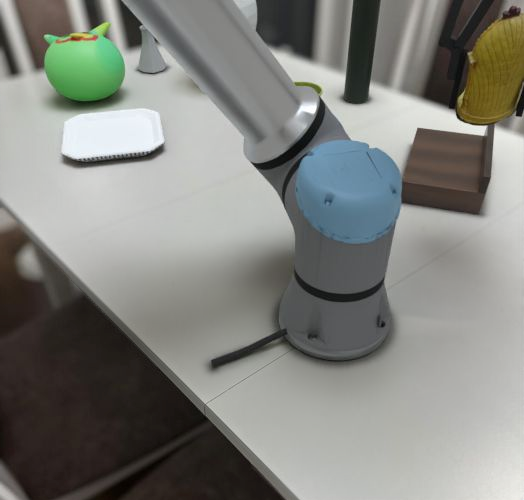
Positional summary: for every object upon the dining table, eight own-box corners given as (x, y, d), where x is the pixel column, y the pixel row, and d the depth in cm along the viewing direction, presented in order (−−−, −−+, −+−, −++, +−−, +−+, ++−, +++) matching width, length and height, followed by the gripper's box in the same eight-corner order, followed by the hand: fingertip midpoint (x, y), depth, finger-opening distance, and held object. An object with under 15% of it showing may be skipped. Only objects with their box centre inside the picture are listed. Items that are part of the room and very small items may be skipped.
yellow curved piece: (513, 145, 67) (558, 10, 56) (448, 138, 69) (478, 6, 58) (513, 108, 75) (552, -18, 64) (454, 103, 77) (481, -21, 66)
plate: (62, 170, 104) (59, 159, 103) (67, 125, 118) (64, 115, 116) (167, 158, 107) (165, 147, 105) (159, 115, 121) (158, 106, 119)
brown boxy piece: (478, 214, 92) (491, 177, 87) (397, 201, 95) (404, 165, 90) (484, 155, 106) (495, 121, 101) (413, 146, 109) (420, 112, 104)
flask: (153, 75, 137) (147, 32, 130) (133, 70, 140) (125, 28, 133) (171, 67, 141) (166, 24, 134) (151, 62, 144) (144, 20, 137)
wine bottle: (338, 98, 126) (352, -59, 104) (354, 91, 128) (371, -63, 107) (357, 105, 123) (375, -55, 101) (372, 98, 126) (394, -59, 104)
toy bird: (53, 115, 121) (32, 45, 111) (55, 88, 133) (36, 21, 122) (132, 107, 124) (119, 37, 113) (127, 80, 135) (115, 15, 125)
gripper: (438, -115, 54) (402, 110, 71) (667, -113, 49) (569, 130, 65) (448, -124, 59) (412, 89, 76) (657, -124, 53) (568, 106, 70)
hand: (485, 108), depth 70 cm, fingers closed on yellow curved piece, 8 cm apart
